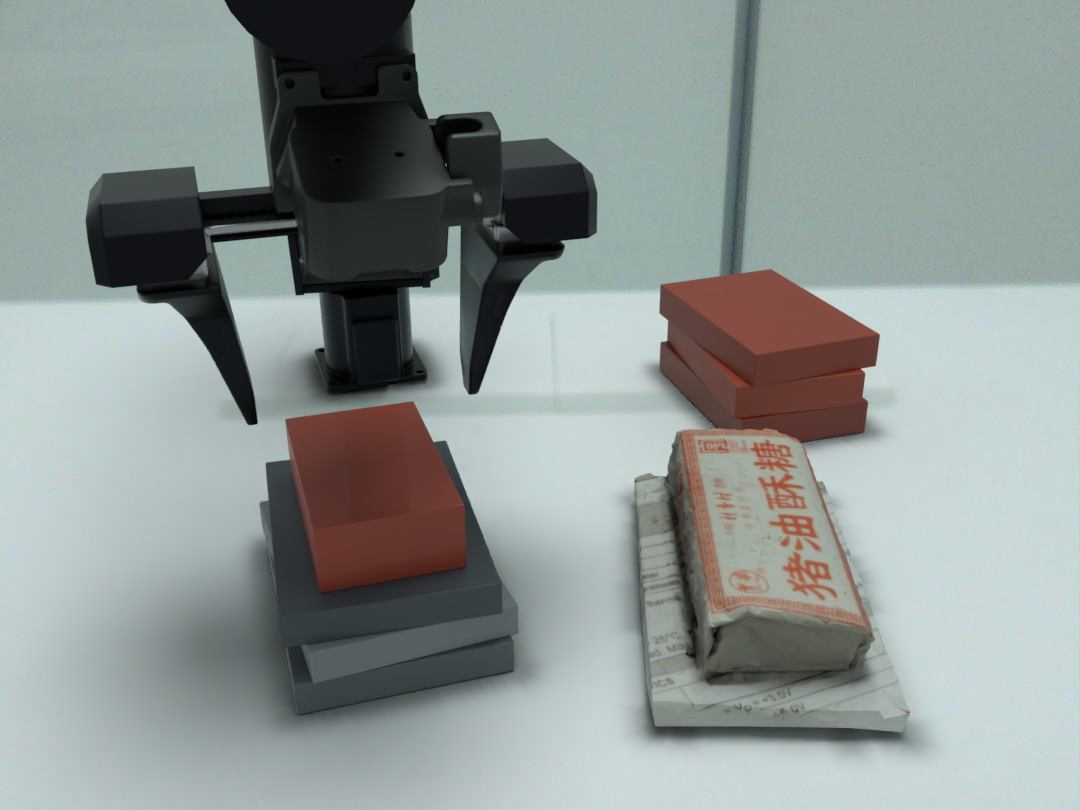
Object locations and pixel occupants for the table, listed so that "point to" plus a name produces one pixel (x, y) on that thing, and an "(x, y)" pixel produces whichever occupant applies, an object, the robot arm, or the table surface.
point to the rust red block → (374, 496)
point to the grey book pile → (383, 614)
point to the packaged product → (754, 593)
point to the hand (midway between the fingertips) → (364, 405)
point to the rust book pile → (766, 355)
